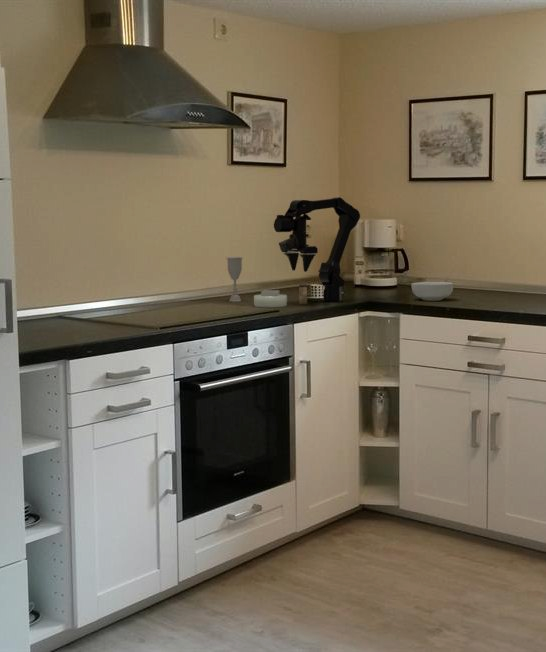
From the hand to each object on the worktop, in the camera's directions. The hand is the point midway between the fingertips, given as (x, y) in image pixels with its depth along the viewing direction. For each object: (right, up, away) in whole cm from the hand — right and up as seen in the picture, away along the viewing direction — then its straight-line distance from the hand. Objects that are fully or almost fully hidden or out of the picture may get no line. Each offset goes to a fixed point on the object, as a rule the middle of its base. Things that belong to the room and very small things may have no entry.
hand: (299, 271), depth 383 cm
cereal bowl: (+55, -11, +12) cm, 57 cm away
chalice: (-26, -12, +16) cm, 33 cm away
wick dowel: (+2, -13, +2) cm, 13 cm away
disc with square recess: (-12, -14, -5) cm, 19 cm away
